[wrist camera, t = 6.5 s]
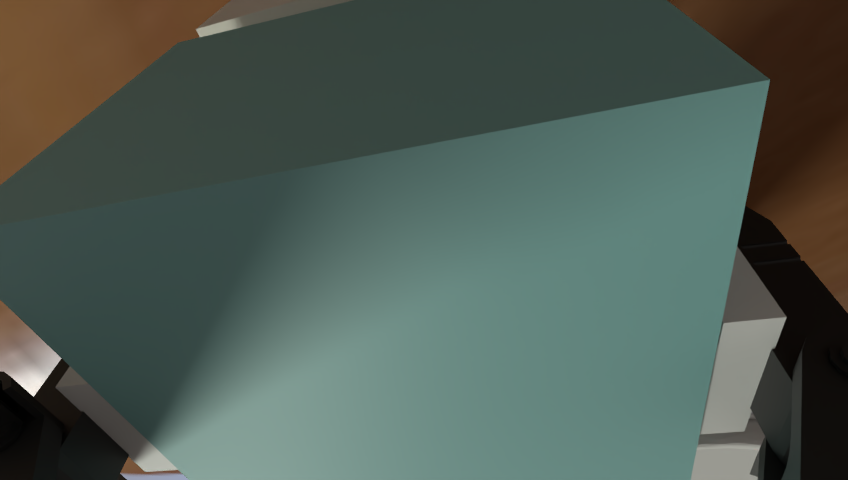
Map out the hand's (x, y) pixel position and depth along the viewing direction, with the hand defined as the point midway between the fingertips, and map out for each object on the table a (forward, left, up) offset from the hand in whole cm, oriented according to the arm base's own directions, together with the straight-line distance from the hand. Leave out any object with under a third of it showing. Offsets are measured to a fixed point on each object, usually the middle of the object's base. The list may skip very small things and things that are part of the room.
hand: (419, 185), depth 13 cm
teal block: (0, 0, 0) cm, 0 cm away
